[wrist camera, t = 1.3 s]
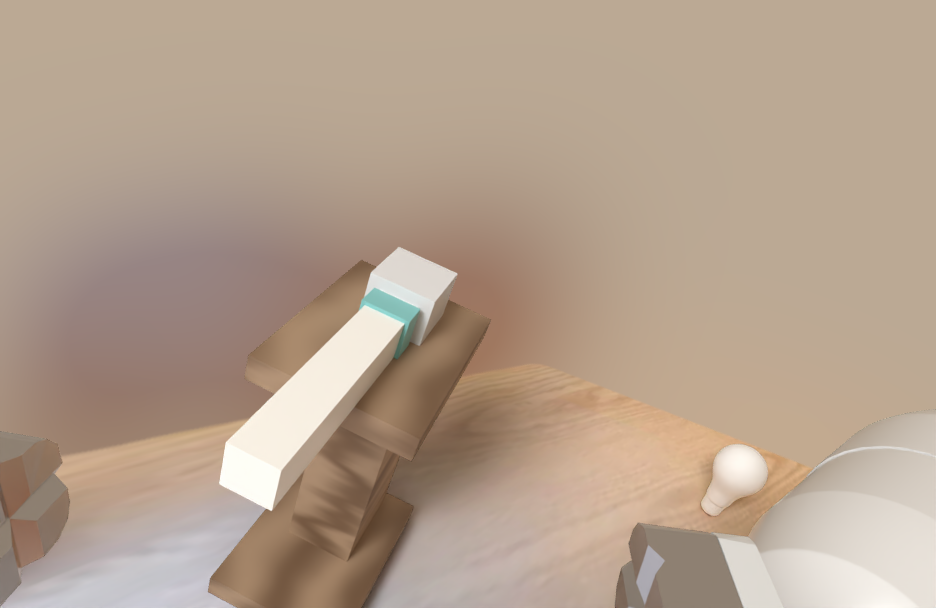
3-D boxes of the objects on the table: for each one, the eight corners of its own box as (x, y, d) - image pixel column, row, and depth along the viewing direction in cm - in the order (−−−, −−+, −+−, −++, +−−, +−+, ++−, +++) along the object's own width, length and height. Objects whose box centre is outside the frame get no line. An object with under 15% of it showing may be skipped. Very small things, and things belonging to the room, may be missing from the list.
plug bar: (442, 315, 50) (457, 273, 48) (289, 520, 31) (303, 465, 29) (386, 289, 51) (398, 247, 49) (202, 475, 32) (209, 418, 30)
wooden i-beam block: (408, 518, 65) (491, 319, 52) (334, 660, 52) (420, 439, 38) (306, 467, 67) (361, 259, 53) (207, 591, 53) (248, 355, 40)
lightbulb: (678, 508, 79) (723, 448, 74) (692, 484, 84) (735, 425, 78) (722, 541, 77) (773, 481, 71) (734, 514, 82) (782, 456, 76)
